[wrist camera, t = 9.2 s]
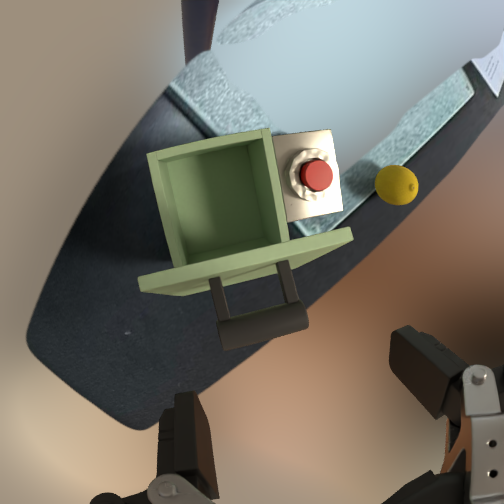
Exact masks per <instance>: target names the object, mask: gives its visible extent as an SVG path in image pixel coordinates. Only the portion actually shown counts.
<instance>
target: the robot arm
mask: <svg viewBox="0 0 504 504" xmlns="http://www.w3.org/2000/svg"><path fill="white" fill-rule="evenodd" d="M389 365H390V368H391V370H392V372H393V373H394V374H395V375H396V376H397V377H398V379H399V380H400V381H401V382H402V383H403V384H404V385H405V386H406V387H407V388H408V390H409V391H410V392H411V393H412V394H413V395H414V396H415V397H416V398H417V400H418V401H419V402H420V403H421V404H422V405H423V406H424V407H425V408H426V409H427V411H428V412H429V413H430V414H431V415H432V416H433V417H434V419H436V420H437V419H438V418H440V417H442V416H443V415H446V416H447V417H448V418H447V421H446V441H445V457H444V462H443V465H442V468H441V471H440V474H436V475H434V474H433V472H432V471H431V470H429V471H428V472H426V473H425V474H423V475H421V476H420V477H418V478H416V479H414V480H412V481H411V482H409V483H407V484H405V485H404V486H403V487H402V488H401V489H399V490H398V491H397V492H396V493H395V494H393V495H392V496H391V497H390V498H388V499H387V500H386V501H385V502H383V503H382V504H504V365H502V366H499V367H496V368H493V369H490V368H488V367H486V366H484V365H472V366H469V365H468V364H467V363H465V362H464V361H463V360H462V359H460V358H459V357H458V356H457V355H456V354H454V353H453V352H452V351H451V350H449V349H448V348H446V346H444V345H443V344H442V343H441V344H440V342H439V341H438V340H437V339H436V338H434V337H433V336H432V335H429V334H426V333H424V332H420V333H419V332H418V331H416V330H415V329H414V328H413V327H411V326H409V325H407V326H404V327H402V328H400V329H397V330H395V331H393V332H392V334H391V341H390V354H389ZM158 440H159V442H158V453H157V454H158V455H157V475H156V478H155V479H154V480H153V481H152V482H151V483H150V484H149V486H148V489H147V490H145V491H143V492H140V493H138V494H135V495H131V496H128V497H125V498H120V496H118V495H116V494H114V493H102V494H99V495H97V496H95V497H94V498H93V499H92V500H91V502H90V504H215V503H214V502H212V501H211V500H213V499H219V492H218V485H217V478H216V471H215V465H214V458H213V449H212V441H211V432H210V427H209V423H208V419H207V417H206V414H205V412H204V410H203V408H202V405H201V403H200V401H199V398H198V396H197V394H196V392H195V391H189V392H184V393H178V394H175V403H174V408H169V409H165V410H164V412H163V414H162V416H161V417H160V419H159V433H158Z"/></svg>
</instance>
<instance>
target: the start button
mask: <svg viewBox="0 0 504 504" xmlns="http://www.w3.org/2000/svg"><path fill="white" fill-rule="evenodd" d="M301 180H302V182H303V184H304V185H305V186H306V187H307V188H309V189H313V190H318V191H321V190H325V189H327V188H328V187H329V186H330V185H331V183H332V181H333V171H332V168H331V166H330V165H329V164H328V163H326V162H325V161H322V160H312V161H309V162H307V163H306V164H305V165H304V166H303V167H302V169H301Z"/></svg>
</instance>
